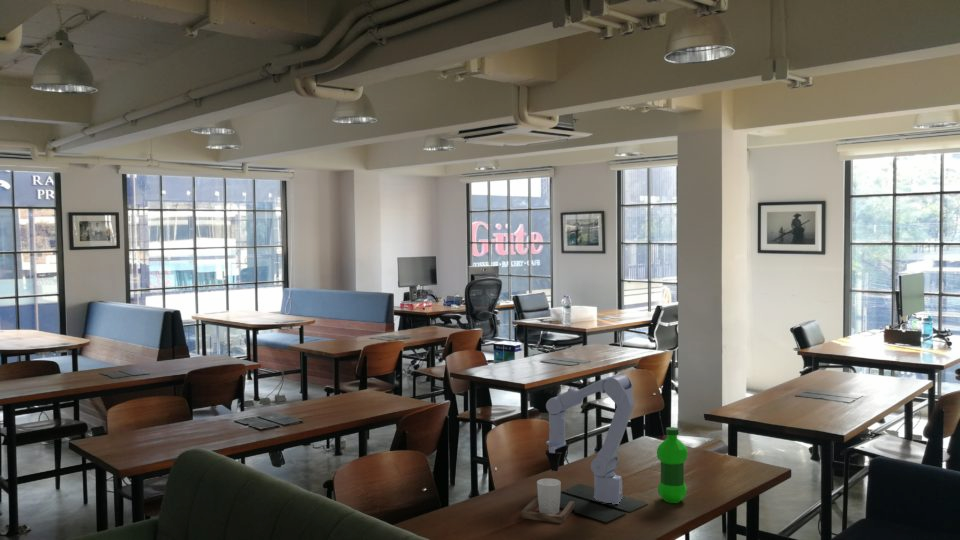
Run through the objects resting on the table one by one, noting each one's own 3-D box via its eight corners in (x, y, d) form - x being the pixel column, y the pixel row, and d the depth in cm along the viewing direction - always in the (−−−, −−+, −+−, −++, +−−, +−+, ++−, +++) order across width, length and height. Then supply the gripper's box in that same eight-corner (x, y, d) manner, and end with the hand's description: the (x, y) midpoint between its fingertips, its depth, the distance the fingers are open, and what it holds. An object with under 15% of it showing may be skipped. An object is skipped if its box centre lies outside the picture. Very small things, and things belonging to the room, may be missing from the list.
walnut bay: (574, 507, 262) (574, 501, 262) (562, 523, 247) (562, 517, 247) (535, 502, 267) (534, 496, 267) (520, 518, 252) (520, 511, 252)
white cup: (560, 516, 253) (560, 486, 253) (536, 515, 255) (535, 485, 254) (561, 508, 261) (561, 478, 261) (538, 507, 262) (538, 477, 262)
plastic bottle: (688, 497, 270) (688, 426, 269) (686, 507, 260) (686, 433, 259) (659, 494, 274) (658, 424, 273) (655, 504, 264) (655, 431, 263)
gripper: (552, 424, 286) (552, 461, 287) (540, 434, 273) (540, 472, 273) (570, 426, 284) (570, 462, 284) (559, 435, 270) (560, 474, 271)
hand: (557, 467), depth 278 cm, fingers open, 7 cm apart
